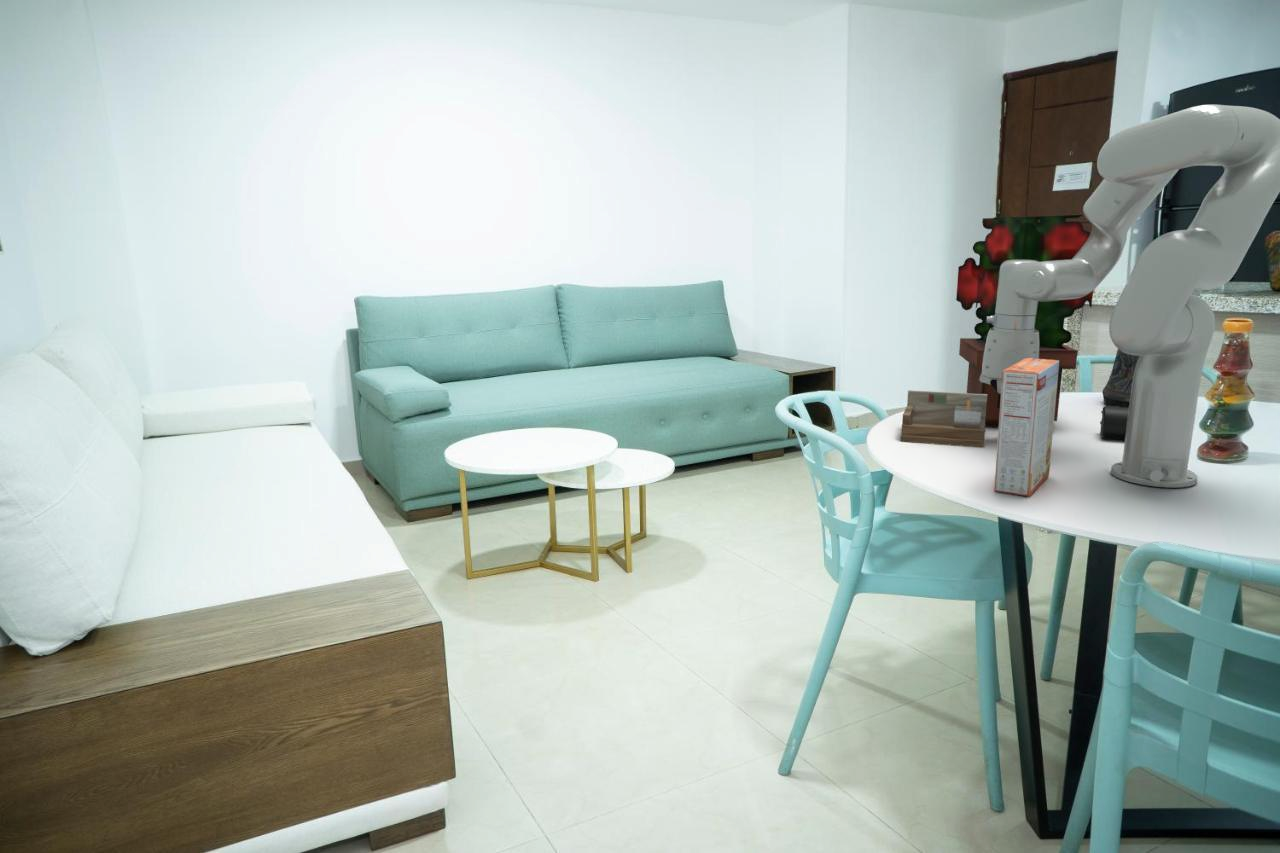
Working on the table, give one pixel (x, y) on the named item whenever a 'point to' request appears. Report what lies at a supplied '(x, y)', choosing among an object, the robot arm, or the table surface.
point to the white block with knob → (967, 417)
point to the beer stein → (1120, 380)
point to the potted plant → (1039, 244)
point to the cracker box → (1026, 425)
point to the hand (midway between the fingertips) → (1004, 411)
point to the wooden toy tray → (941, 418)
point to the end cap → (1114, 422)
